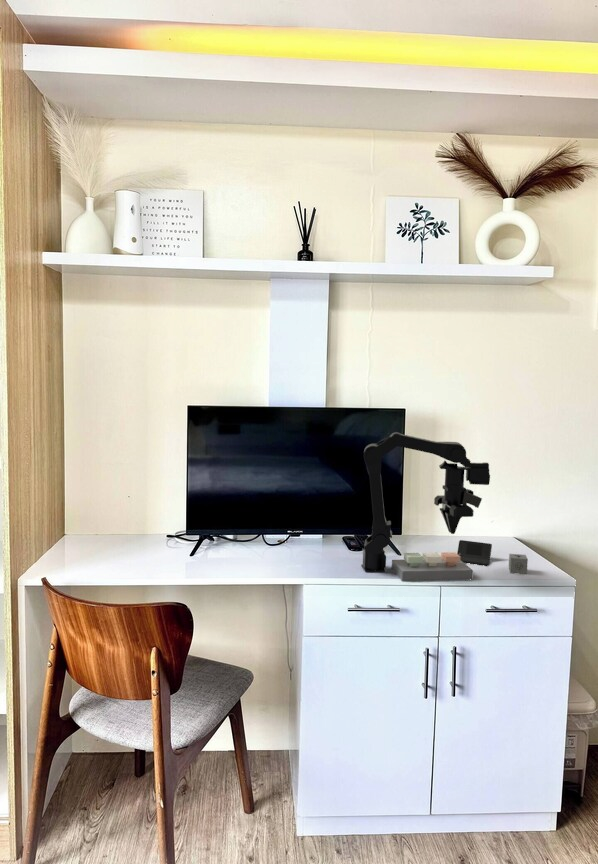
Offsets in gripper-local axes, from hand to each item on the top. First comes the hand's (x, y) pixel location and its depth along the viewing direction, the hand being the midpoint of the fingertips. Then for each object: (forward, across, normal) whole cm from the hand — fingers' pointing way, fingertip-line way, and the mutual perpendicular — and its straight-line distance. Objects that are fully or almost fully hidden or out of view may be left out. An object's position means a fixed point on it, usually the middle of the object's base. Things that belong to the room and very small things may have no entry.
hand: (451, 533), depth 215 cm
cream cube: (+12, 0, +6) cm, 13 cm away
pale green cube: (+11, 0, +12) cm, 17 cm away
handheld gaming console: (+14, +14, -13) cm, 23 cm away
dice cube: (+13, +2, -23) cm, 27 cm away
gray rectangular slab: (+13, 0, +6) cm, 14 cm away
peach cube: (+12, 0, 0) cm, 12 cm away
